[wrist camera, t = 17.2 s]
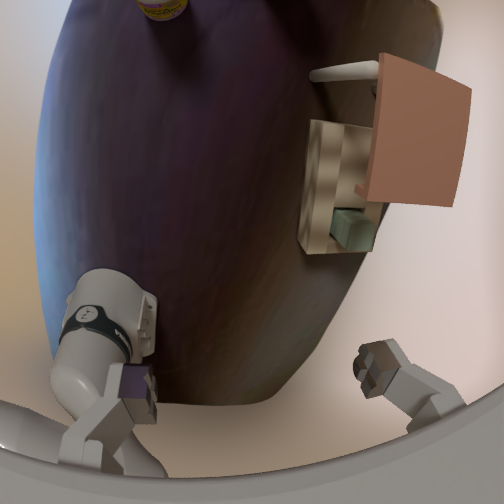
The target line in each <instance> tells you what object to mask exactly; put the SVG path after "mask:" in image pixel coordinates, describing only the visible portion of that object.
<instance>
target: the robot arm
mask: <svg viewBox="0 0 504 504" xmlns="http://www.w3.org/2000/svg"><path fill="white" fill-rule="evenodd" d="M157 303H158V300H157V298H156V297H155V296H154V295H152V294H150V293H148V292H146V291H144V290H143V289H141V288H140V287H139V286H138V285H137V284H136V283H135V282H134V281H133V280H132V279H131V278H129V277H128V276H126V275H124V274H122V273H120V272H118V271H115V270H110V269H95V270H92V271H89V272H87V273H85V274H84V275H83V276H82V277H81V278H80V279H79V281H78V283H77V285H76V288H75V290H74V291H73V292H72V293H71V294H69V295H68V297H67V300H66V304H67V306H68V308H67V310H66V314H65V317H64V320H63V324H62V325H63V329H62V331H61V334H60V339H59V348H58V351H57V353H56V356H55V358H54V361H53V364H52V367H51V370H50V373H49V384H50V388H51V391H52V393H53V395H54V397H55V398H56V400H57V401H58V403H59V404H60V405H61V406H62V407H63V408H64V409H65V410H66V411H67V412H68V413H69V414H70V415H71V416H72V418H73V419H74V420H75V423H74V424H73V425H72V426H71V427H69V426H66V425H64V424H61V423H59V422H57V421H54V420H52V419H50V418H47V417H45V416H43V415H41V414H39V413H37V412H35V411H33V410H30V409H28V408H25V407H22V406H19V405H16V404H12V403H9V402H6V401H2V400H0V504H504V383H503V384H502V385H501V386H499V387H497V388H496V389H494V390H493V391H491V392H489V393H488V394H486V395H485V396H483V397H482V398H479V399H478V400H476V401H474V402H472V403H471V404H469V405H466V403H465V402H464V400H463V399H462V397H461V396H460V394H459V393H458V391H457V390H456V388H455V387H454V386H453V385H452V384H450V383H448V382H446V381H444V380H443V379H441V378H439V377H437V376H435V375H434V374H432V373H430V372H428V371H426V370H424V369H423V368H421V367H419V366H417V365H415V364H411V363H410V361H409V360H408V358H407V357H406V355H405V354H404V352H403V351H402V349H401V348H400V346H399V345H398V343H397V342H396V341H395V340H394V339H387V340H383V341H377V342H372V343H367V344H362V345H361V346H360V347H359V350H358V352H359V355H358V356H357V357H356V358H355V360H354V362H353V371H354V375H355V377H356V379H357V380H359V381H360V382H362V383H361V389H362V391H363V393H364V395H365V397H366V399H369V398H372V397H377V396H380V395H383V396H384V397H386V398H387V399H388V400H389V401H390V402H392V403H393V404H394V405H396V406H397V407H398V408H399V409H401V410H402V411H403V412H405V413H406V414H407V415H409V416H410V417H411V418H413V419H412V421H411V422H410V423H409V424H408V425H407V428H406V429H407V431H408V434H406V435H404V436H401V437H399V438H396V439H393V440H391V441H388V442H385V443H382V444H379V445H377V446H373V447H370V448H367V449H364V450H361V451H358V452H355V453H351V454H348V455H344V456H341V457H337V458H333V459H329V460H325V461H321V462H317V463H313V464H308V465H303V466H298V467H293V468H288V469H282V470H276V471H269V472H262V473H254V474H246V475H236V476H223V477H206V478H169V477H168V474H167V472H166V470H165V469H164V467H163V466H162V464H161V463H160V462H159V460H157V459H156V458H155V457H154V456H152V455H151V454H150V453H149V452H148V451H147V450H146V449H145V448H144V447H143V445H142V444H141V443H140V442H139V440H138V439H137V438H136V436H135V435H134V433H133V431H132V429H133V427H134V426H135V424H156V418H157V409H156V406H155V402H156V401H157V396H158V392H157V383H156V378H155V377H154V376H153V368H152V365H151V364H140V363H141V362H142V359H143V357H145V356H148V355H150V354H152V353H153V352H154V349H155V333H156V317H157ZM149 306H152V307H149Z"/></svg>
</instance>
